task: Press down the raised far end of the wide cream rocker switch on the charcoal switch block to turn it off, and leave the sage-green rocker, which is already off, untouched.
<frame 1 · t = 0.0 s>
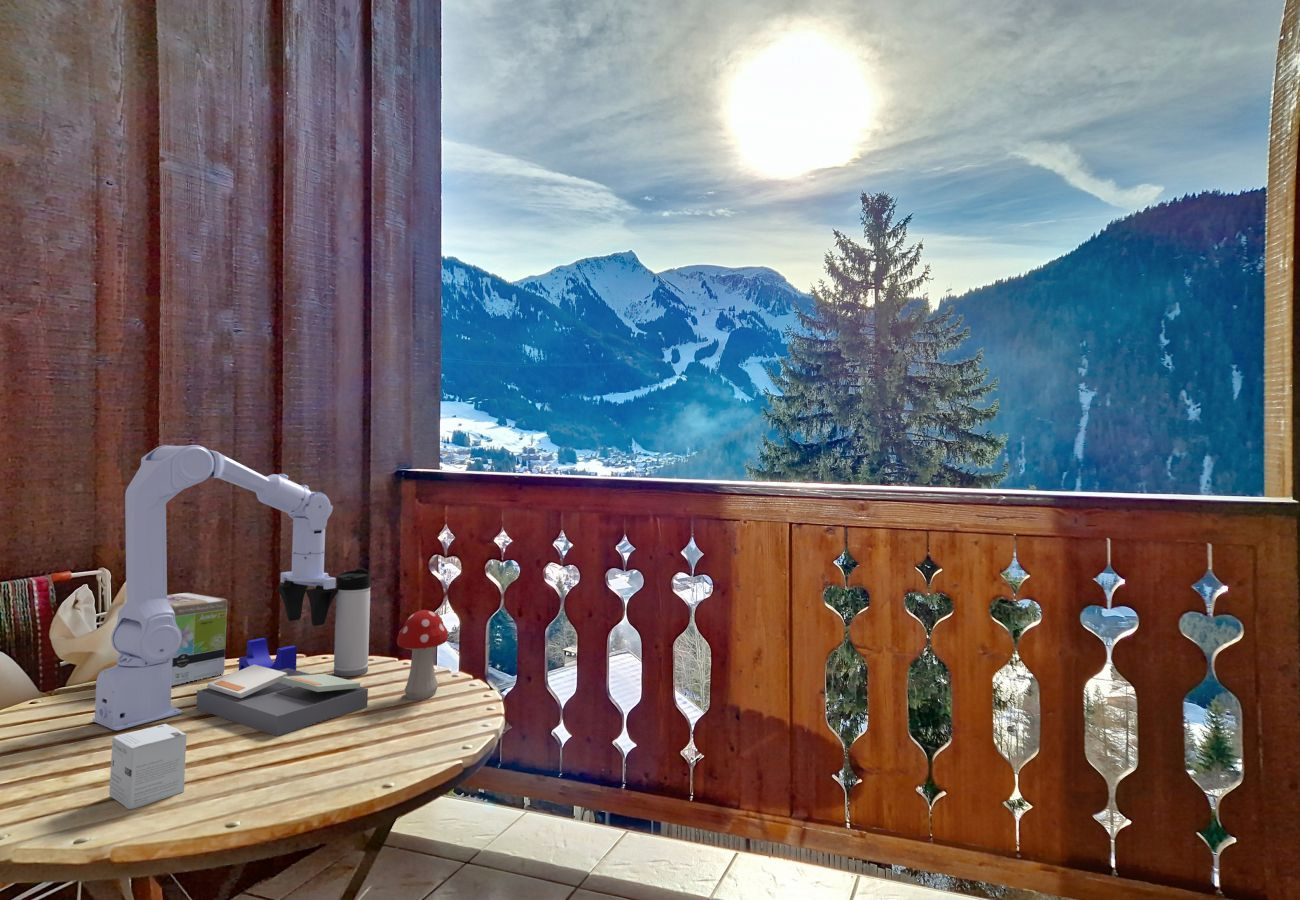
hand: (306, 622, 138), 10 cm above the table, tool pointing down, fingers open, 7 cm apart
travel mug: (351, 673, 140), on the table
cream rocker: (247, 680, 119), point 4 cm above the table, hinge at -10.0°
switch block: (282, 707, 119), on the table
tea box: (178, 675, 136), on the table
decorative mushroom: (421, 695, 127), on the table
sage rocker: (321, 682, 118), point 4 cm above the table, hinge at 10.0°
cable clip: (266, 676, 137), on the table
skincare box: (147, 796, 87), on the table
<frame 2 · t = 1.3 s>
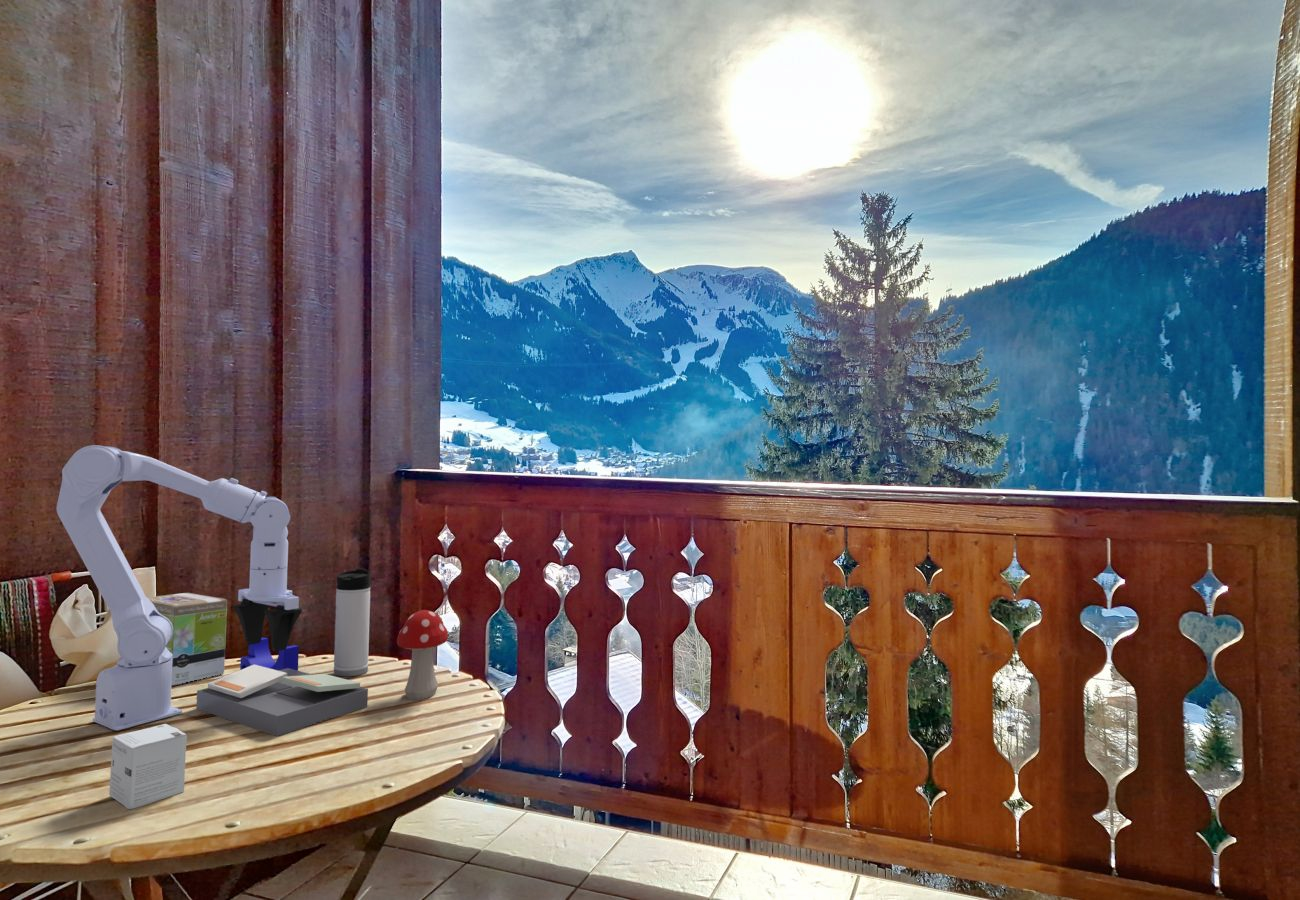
hand: (266, 646, 121), 9 cm above the table, tool pointing down, fingers open, 7 cm apart
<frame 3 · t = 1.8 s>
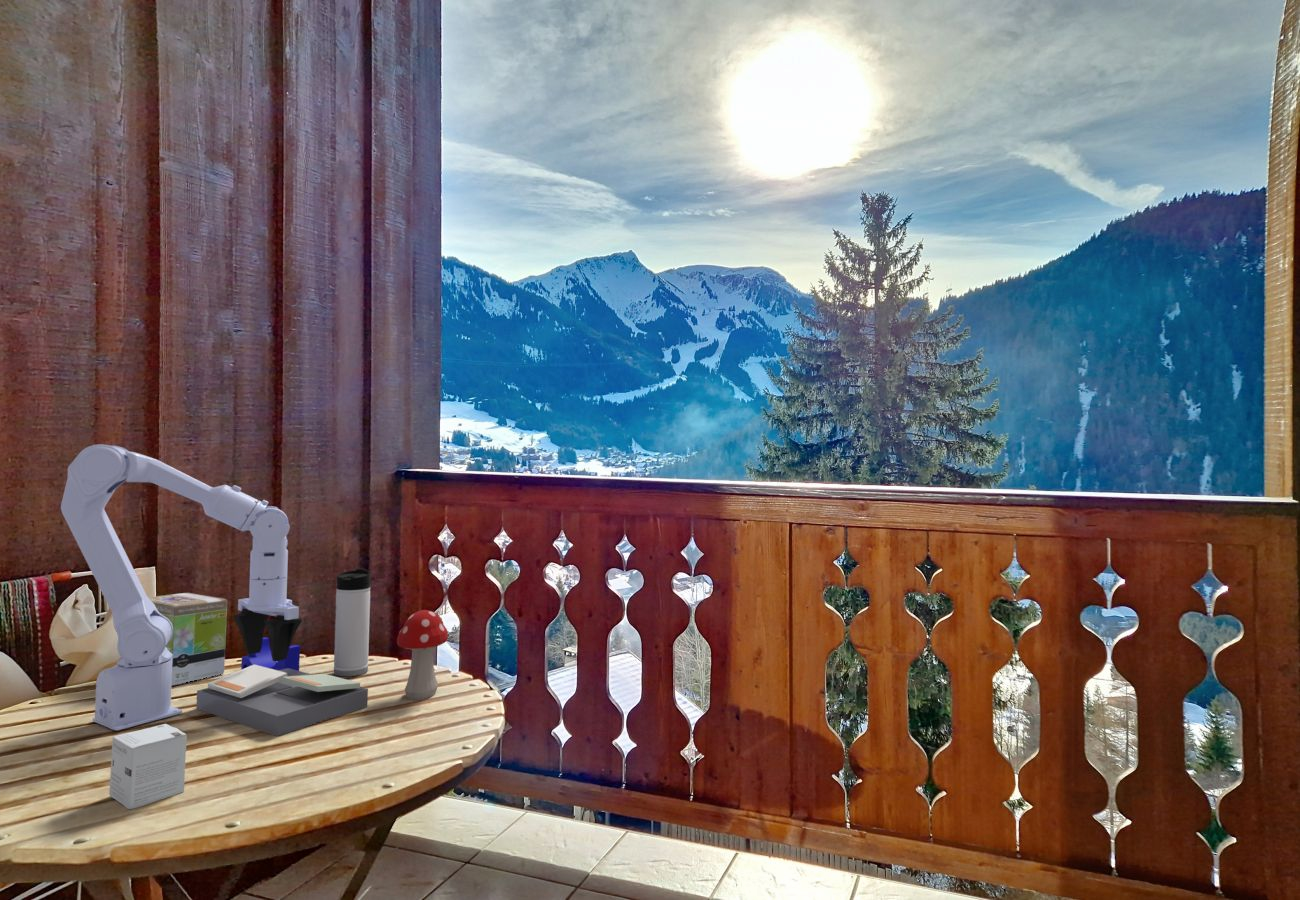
hand: (266, 656, 121), 8 cm above the table, tool pointing down, fingers open, 7 cm apart
nothing on the table moved.
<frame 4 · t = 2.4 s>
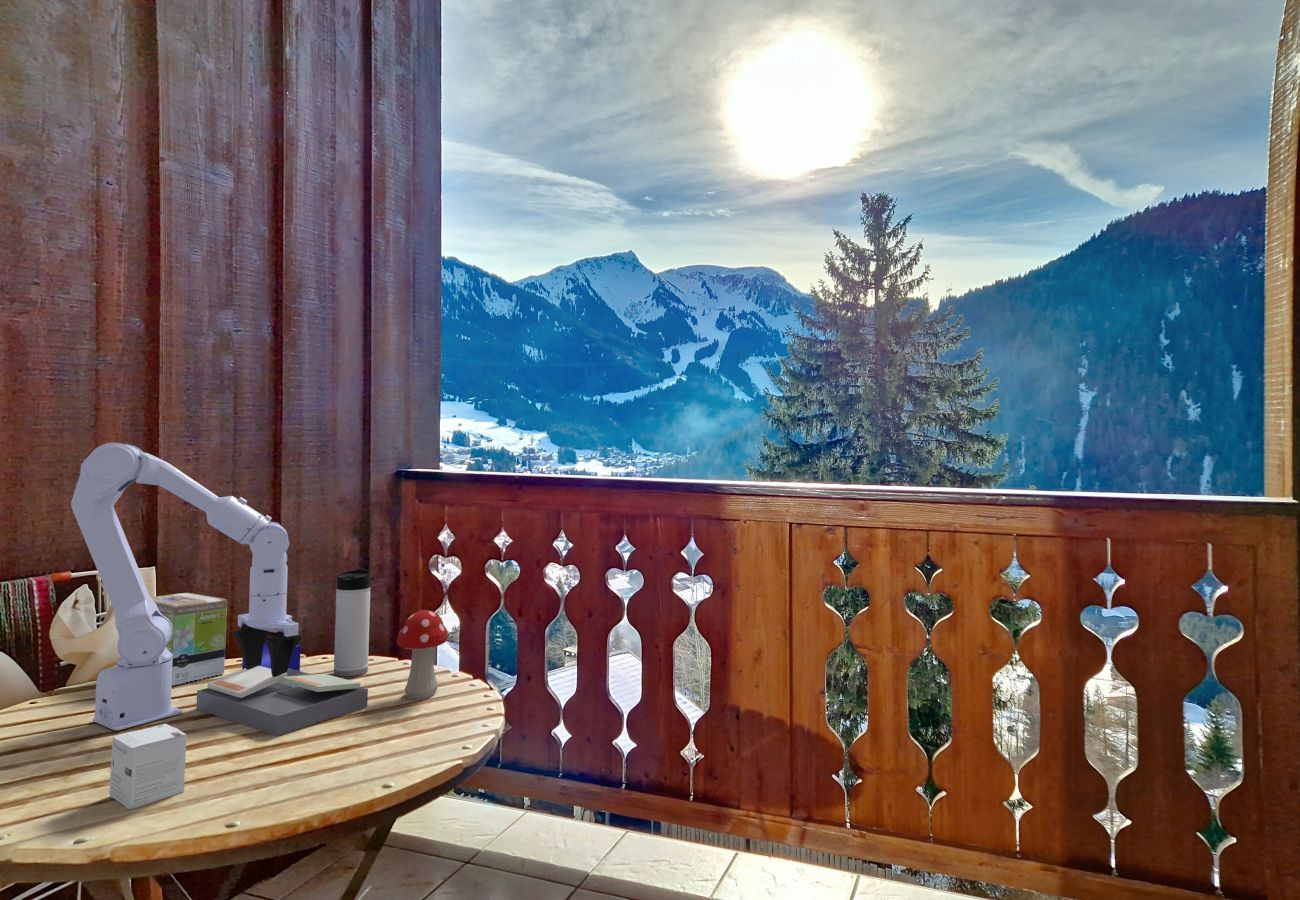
hand: (266, 672, 121), 5 cm above the table, tool pointing down
cream rocker: (247, 680, 119), point 4 cm above the table, hinge at -9.7°, touching gripper
everything else where it was.
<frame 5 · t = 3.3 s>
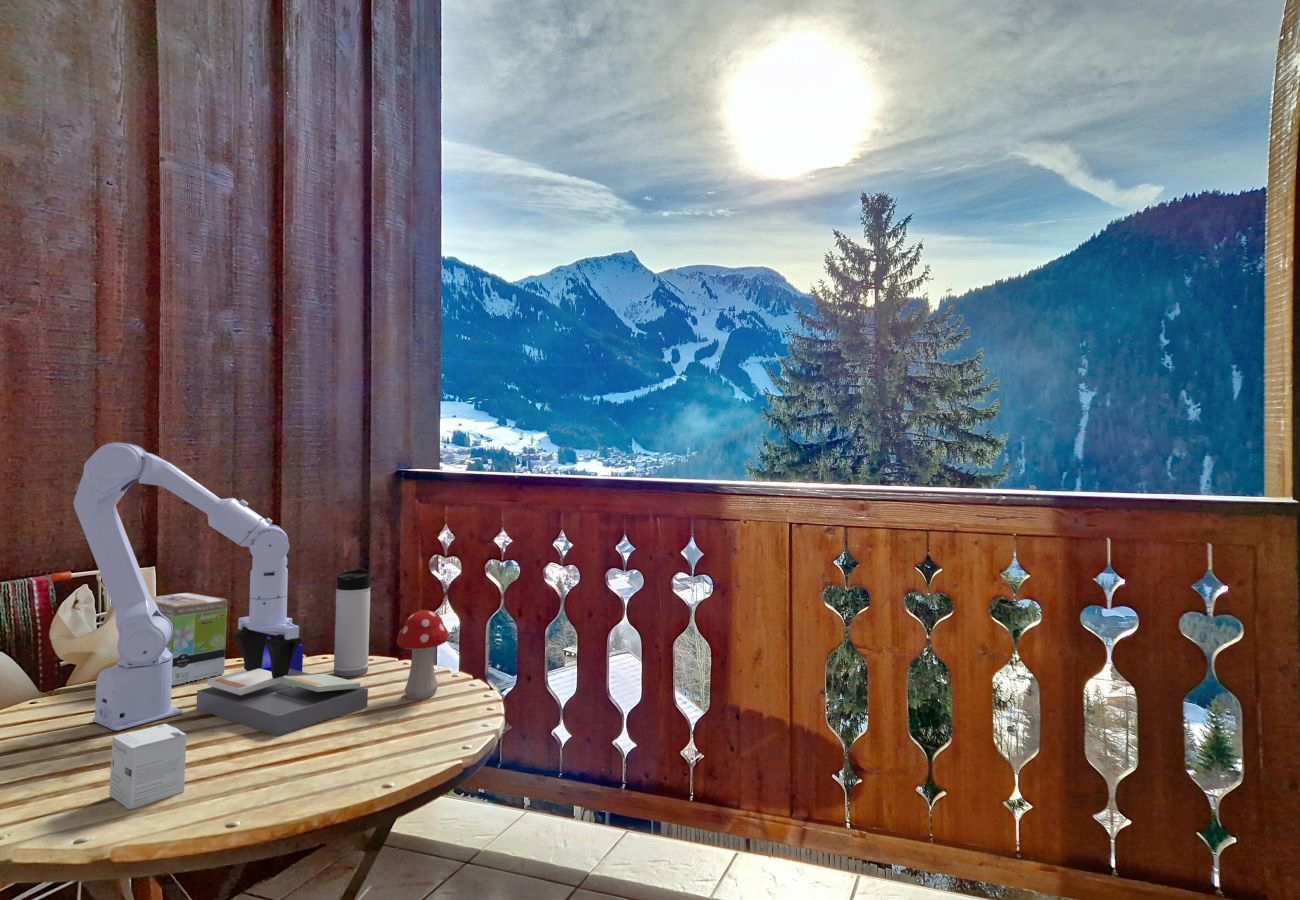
hand: (266, 675, 121), 4 cm above the table, tool pointing down
cream rocker: (247, 680, 119), point 4 cm above the table, hinge at -2.5°, touching gripper
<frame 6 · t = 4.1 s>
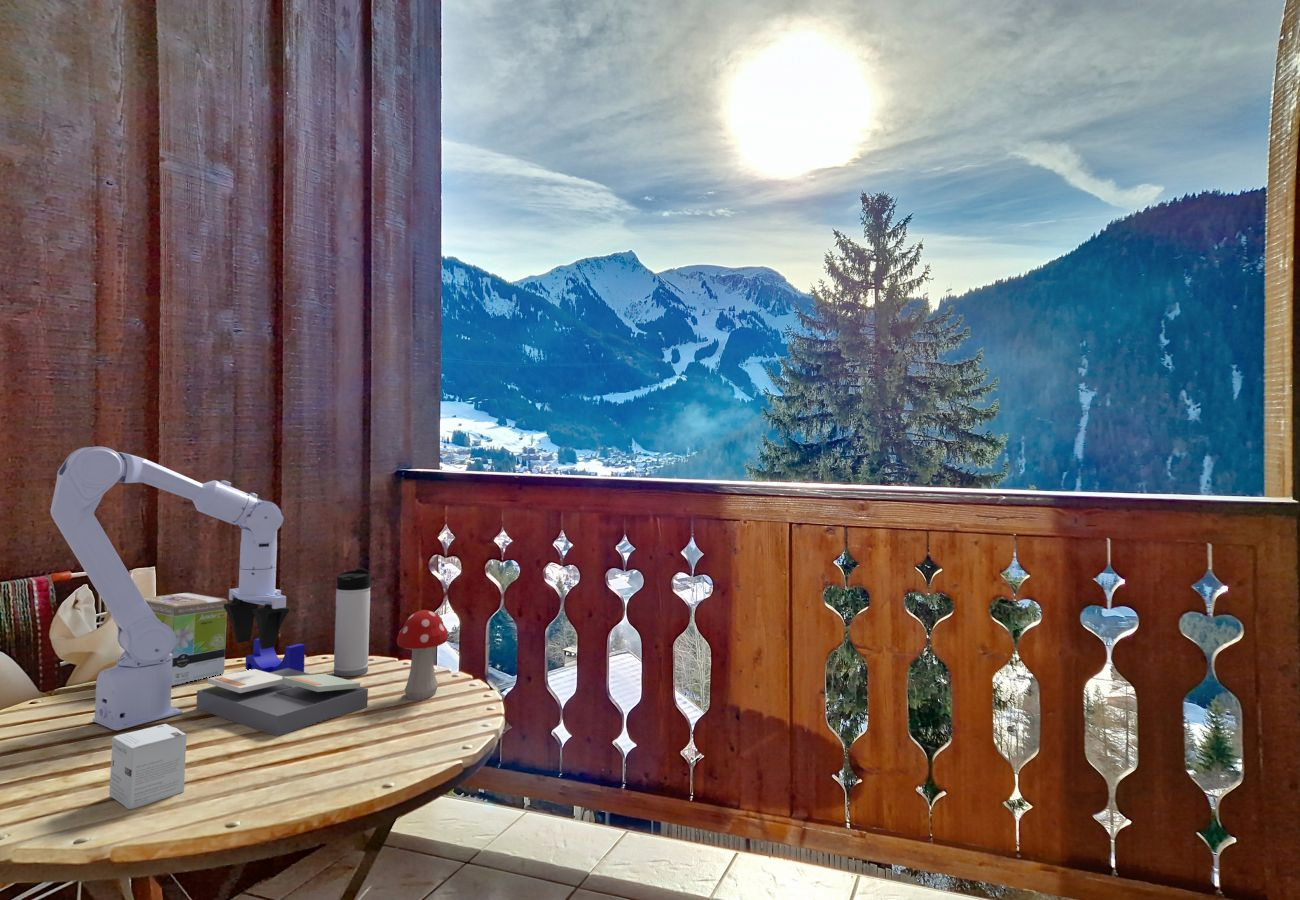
hand: (255, 644, 125), 9 cm above the table, tool pointing down, fingers open, 7 cm apart
cream rocker: (247, 680, 119), point 4 cm above the table, hinge at 2.3°
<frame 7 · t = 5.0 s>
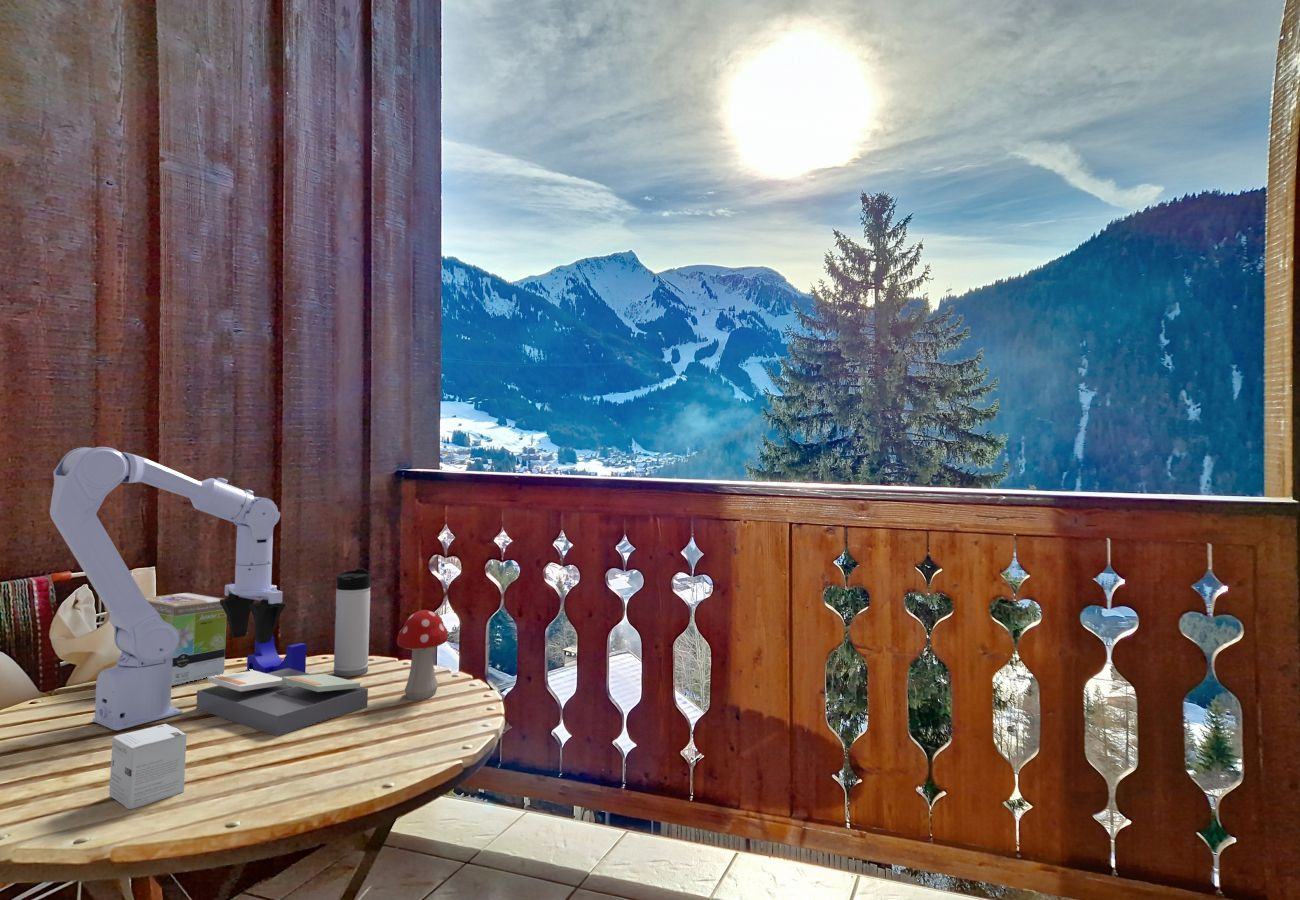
hand: (251, 639, 126), 9 cm above the table, tool pointing down, fingers open, 7 cm apart
cream rocker: (247, 680, 119), point 4 cm above the table, hinge at 6.0°
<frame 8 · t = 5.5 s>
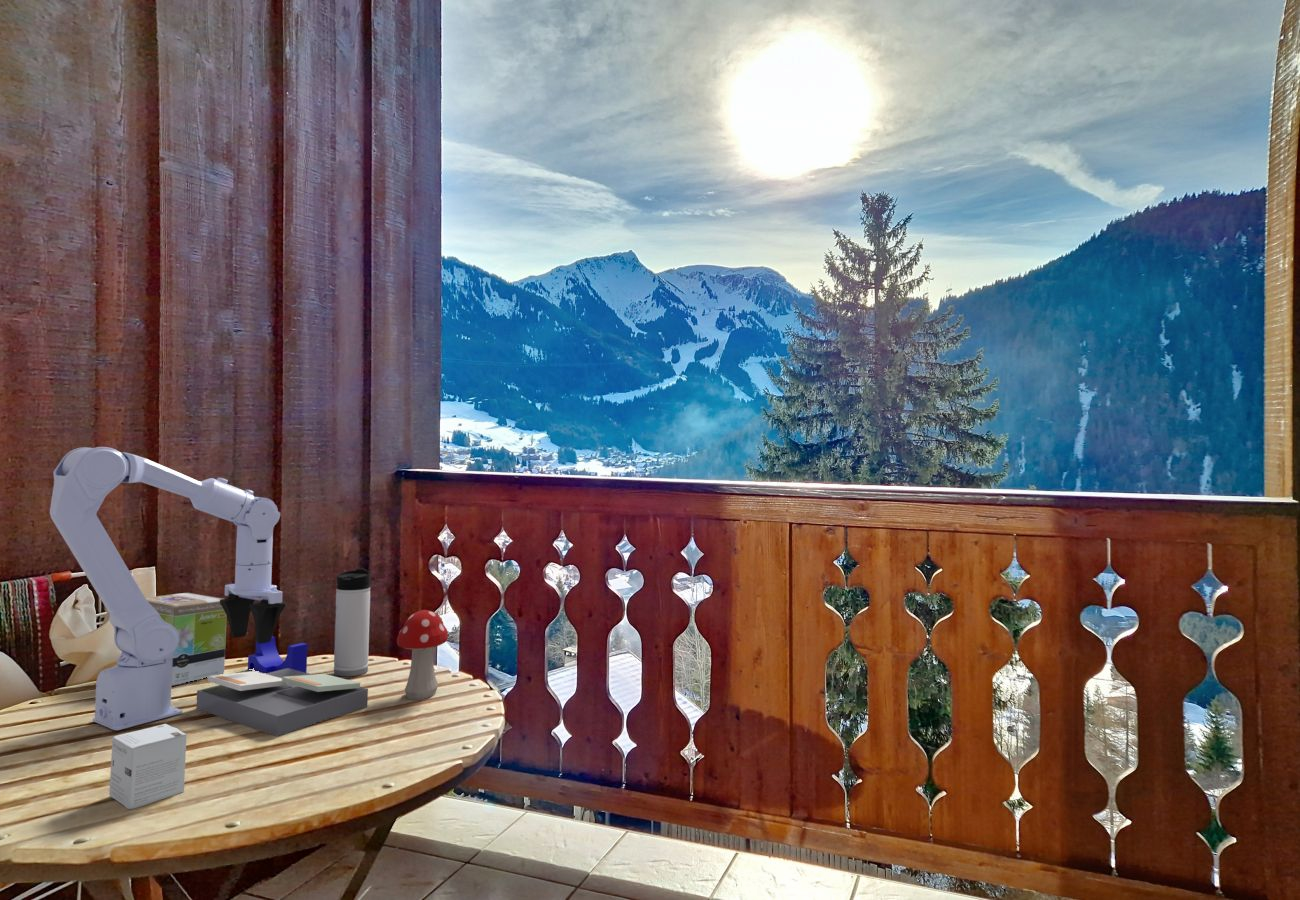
hand: (251, 639, 126), 9 cm above the table, tool pointing down, fingers open, 7 cm apart
cream rocker: (247, 680, 119), point 4 cm above the table, hinge at 7.4°
at the end: cream rocker at +8° (first picture: -10°); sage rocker at +10° (first picture: +10°) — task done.
